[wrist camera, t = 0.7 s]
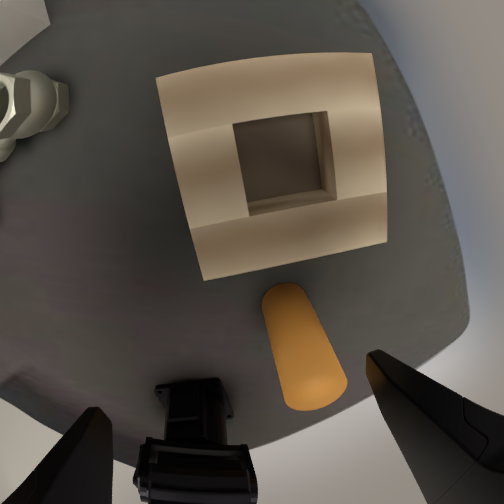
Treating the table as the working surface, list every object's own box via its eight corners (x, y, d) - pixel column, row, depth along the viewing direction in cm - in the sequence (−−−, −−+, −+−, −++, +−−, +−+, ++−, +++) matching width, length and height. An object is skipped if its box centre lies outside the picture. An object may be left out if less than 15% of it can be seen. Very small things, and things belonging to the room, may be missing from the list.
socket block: (367, 225, 21) (386, 241, 19) (205, 259, 21) (204, 281, 18) (350, 60, 16) (371, 53, 13) (165, 84, 16) (155, 78, 13)
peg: (308, 315, 24) (345, 400, 16) (265, 325, 24) (287, 416, 16) (305, 278, 22) (348, 362, 14) (257, 288, 22) (281, 379, 14)
